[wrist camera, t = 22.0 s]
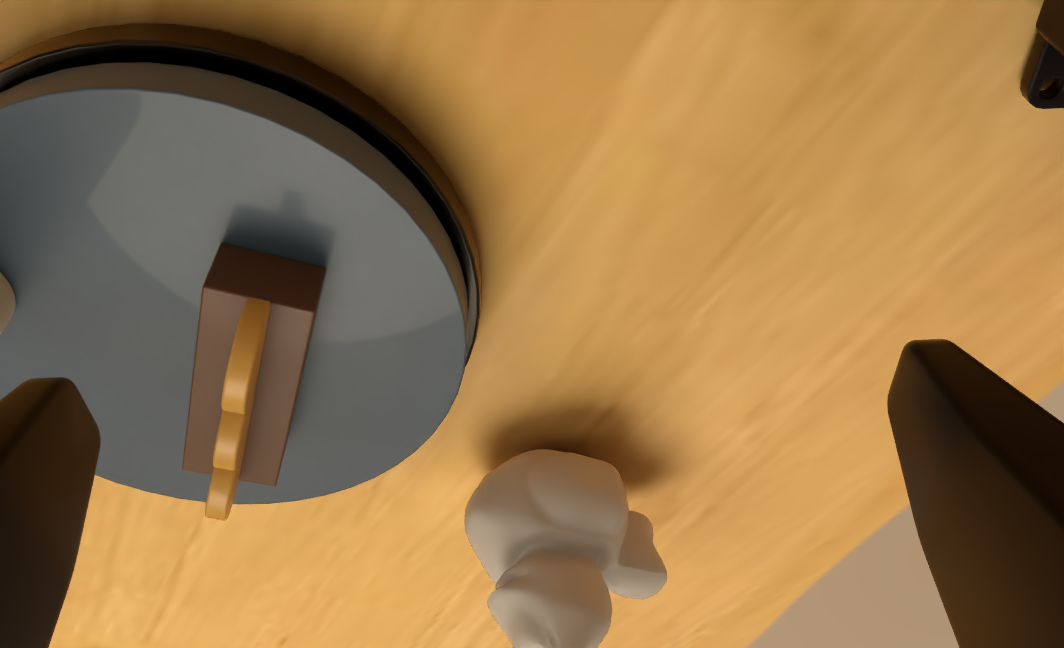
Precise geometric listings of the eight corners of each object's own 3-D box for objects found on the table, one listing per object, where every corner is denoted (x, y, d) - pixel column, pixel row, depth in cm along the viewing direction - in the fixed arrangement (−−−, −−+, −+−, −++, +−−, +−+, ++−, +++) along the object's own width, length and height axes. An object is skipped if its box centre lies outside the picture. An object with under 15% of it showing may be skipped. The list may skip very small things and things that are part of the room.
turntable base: (455, 6, 19) (453, 25, 18) (497, 438, 28) (497, 462, 28) (-189, 36, 19) (-217, 56, 18) (63, 455, 28) (51, 480, 28)
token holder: (538, 160, 20) (556, 571, 12) (404, 506, 28) (362, 885, 20) (-119, -25, 17) (-676, 357, 9) (-52, 422, 25) (-312, 827, 17)
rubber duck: (499, 400, 27) (497, 643, 21) (688, 449, 29) (736, 687, 23) (444, 502, 30) (428, 737, 24) (616, 541, 32) (641, 769, 26)
